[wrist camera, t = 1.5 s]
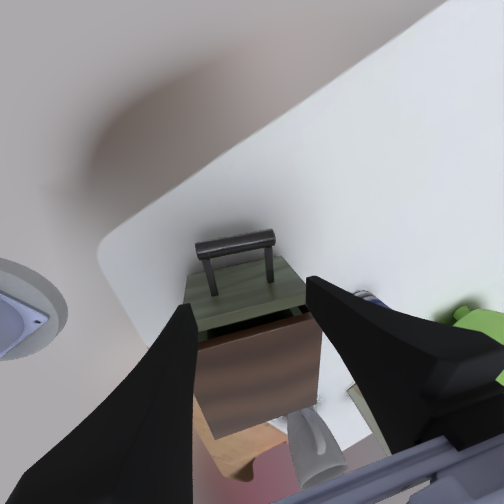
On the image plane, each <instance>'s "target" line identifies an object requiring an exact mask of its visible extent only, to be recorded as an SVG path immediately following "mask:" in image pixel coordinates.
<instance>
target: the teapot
mask: <svg viewBox="0 0 504 504" xmlns="http://www.w3.org/2000/svg"><path fill="white" fill-rule="evenodd" d="M453 317H454V318H455V319H456V320H457V321H458V322H456V323H455V324H454V325H453V326H456V327H461V328H466V329H471V330H476V331H481V332H483V333H485V334H487V335H488V336H490V337H491V338H493V339H495V340H496V341H498V342H499V343H501V344H503V345H504V313H501V312H497V311H492V310H487V309H475V310H473V311H470V310H469V309H468V307H467V306H462V307H460V308H458V309H457V310H456V311H455V313H454V314H453ZM496 381H498V382H499V383H500V384H502V385H503V386H504V370H503V371H502V372H501V374H500V375H499V376H498V377H497V378H496Z"/></svg>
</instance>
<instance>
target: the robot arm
mask: <svg viewBox="0 0 504 504" xmlns="http://www.w3.org/2000/svg"><path fill="white" fill-rule="evenodd" d="M305 303H306V305H307V307H308V309H309V310H310V312H311V314H312V316H313V317H314V319H315V320H316V322H317V323H318V325H319V326H320V328H321V329H322V330H323V332H324V333H325V335H326V336H327V337H328V339H329V340H330V342H331V343H332V344H333V346H334V347H335V349H336V350H337V352H338V353H339V355H340V356H341V358H342V360H343V362H344V363H345V365H346V367H347V368H348V370H349V372H350V374H351V375H352V377H353V379H354V381H355V383H356V384H357V386H358V388H359V390H360V392H361V394H362V396H363V397H364V399H365V401H366V403H367V405H368V407H369V409H370V411H371V413H372V415H373V417H374V419H375V421H376V423H377V425H378V427H379V429H380V431H381V433H382V435H383V437H384V439H385V441H386V444H387V446H388V448H389V450H390V452H391V454H392V455H391V456H389V457H387V458H384V459H382V460H379V461H376V462H374V463H371V464H369V465H366V466H364V467H361V468H358V469H356V470H353V471H351V472H349V473H346V474H343V475H341V476H338V477H336V478H333V479H331V480H328V481H326V482H323V483H321V484H318V485H316V486H313V487H310V488H308V489H305V490H303V491H301V492H298V493H295V494H293V495H290V496H288V497H285V498H283V499H280V500H278V501H275V502H273V503H270V504H375V503H377V502H379V501H382V500H384V499H386V498H389V497H391V496H393V495H396V494H398V493H400V492H403V491H405V490H407V489H409V488H412V487H414V486H416V485H419V484H421V483H423V482H426V481H428V480H430V479H431V480H430V485H428V486H427V487H425V488H423V489H421V490H420V491H418V492H416V493H414V494H413V495H411V496H410V498H409V501H408V502H407V503H406V504H504V386H503V385H502V384H500V383H499V382H498V381H496V378H497V377H498V376H499V375H500V374H501V372H502V371H503V370H504V345H503V344H501V343H499V342H498V341H496V340H495V339H493V338H491V337H490V336H488V335H487V334H485V333H483V332H481V331H476V330H471V329H466V328H461V327H456V326H451V325H446V324H442V323H438V322H433V321H429V320H425V319H422V318H418V317H414V316H411V315H408V314H404V313H401V312H398V311H395V310H392V309H389V308H386V307H383V306H380V305H378V304H375V303H373V302H370V301H368V300H365V299H363V298H361V297H358V296H356V295H354V294H352V293H350V292H348V291H345V290H343V289H341V288H339V287H337V286H335V285H333V284H332V283H330V282H328V281H326V280H324V279H322V278H320V277H317V276H311V277H306V300H305ZM49 318H50V316H49V315H48V314H47V313H45V312H43V311H41V310H39V309H37V308H35V307H33V306H31V305H29V304H27V303H25V302H23V301H21V300H19V299H17V298H15V297H13V296H11V295H9V294H7V293H5V292H3V291H1V290H0V357H2V356H3V355H4V354H6V353H7V352H8V351H9V350H11V349H12V348H13V347H15V346H16V345H17V344H18V343H20V342H21V341H22V340H23V339H25V338H26V337H27V336H29V335H30V334H31V333H32V332H34V331H35V330H36V329H38V328H39V327H40V326H41V325H43V324H44V323H45V322H47V321H48V320H49ZM38 320H39V321H38ZM197 354H198V326H197V323H196V320H195V317H194V314H193V311H192V307H191V304H190V303H186V304H182V305H179V306H178V307H177V309H176V310H175V312H174V313H173V315H172V317H171V318H170V320H169V321H168V323H167V324H166V326H165V327H164V329H163V330H162V332H161V333H160V335H159V336H158V338H157V339H156V341H155V342H154V343H153V345H152V346H151V347H150V349H149V350H148V351H147V353H146V354H145V355H144V357H143V358H142V359H141V360H140V362H139V363H138V364H137V365H136V366H135V368H134V369H133V370H132V371H131V372H130V373H129V374H128V376H127V377H126V378H125V379H124V380H123V381H122V382H121V383H120V384H119V385H118V386H117V387H116V388H115V389H114V391H113V392H112V393H111V394H110V395H109V396H108V397H107V398H106V399H105V400H104V401H103V402H102V403H101V404H100V405H99V406H98V407H97V408H96V409H95V410H94V411H93V412H92V413H91V414H90V415H89V416H88V417H87V418H85V419H84V420H83V421H82V422H81V423H80V424H79V425H78V426H77V427H76V428H75V429H74V430H73V431H71V433H69V434H68V435H67V436H66V437H65V438H64V439H63V440H61V441H60V442H59V443H58V444H57V445H56V446H55V447H53V448H52V449H51V450H50V451H49V452H48V453H46V454H45V455H44V456H43V457H42V458H41V459H40V460H38V461H37V462H36V463H35V464H34V465H33V466H32V467H30V468H29V469H28V470H27V471H26V472H24V474H23V475H22V477H21V478H20V480H19V482H18V483H17V485H16V487H15V488H14V490H13V492H12V493H11V495H10V497H9V498H8V500H7V502H6V503H5V504H193V485H192V484H193V482H192V420H193V391H194V381H195V372H196V363H197Z"/></svg>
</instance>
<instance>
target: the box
mask: <svg viewBox="0 0 504 504" xmlns="http://www.w3.org/2000/svg"><path fill="white" fill-rule="evenodd" d="M347 392H348V394H349V396H350V397H351V399H352V400H353V402H354V404H355V405H356V407H357V408H358V410H359V412H360V413H361V415H362V417H363V418H364V420H365V421H366V423H367V425H368V426H369V428H370V429H371V431H372V433H373V434H374V436H375V437H376V439H377V441H378V442H379V444H380V445H381V447H382V449H383V450H384V452H385V454H386V455H387V457H389V456H391V455H392V454H391V452H390V450H389V448H388V446H387V444H386V441H385V439H384V437H383V435H382V433H381V431H380V429H379V427H378V425H377V423H376V421H375V419H374V417H373V415H372V413H371V411H370V409H369V407H368V405H367V403H366V401H365V399H364V397H363V396H362V394H361V392H360V390H359V388H358V386H357V384H355V385H354V386H353V387H351V388H350V389H349V390H347Z"/></svg>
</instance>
